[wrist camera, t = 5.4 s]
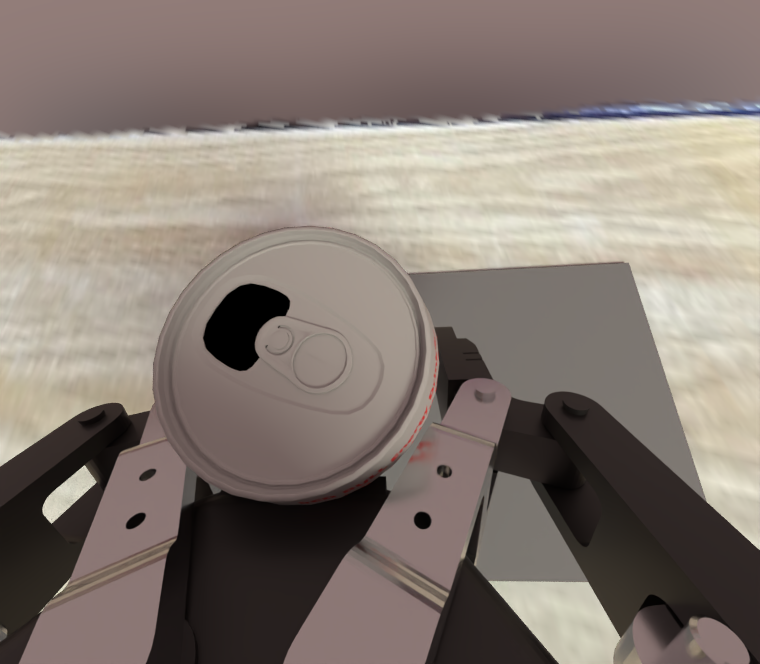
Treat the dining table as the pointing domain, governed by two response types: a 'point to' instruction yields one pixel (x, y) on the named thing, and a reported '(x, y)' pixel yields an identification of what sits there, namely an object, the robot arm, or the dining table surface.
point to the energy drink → (296, 367)
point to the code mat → (554, 385)
